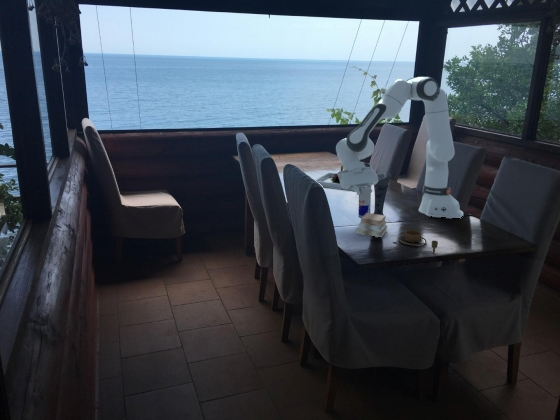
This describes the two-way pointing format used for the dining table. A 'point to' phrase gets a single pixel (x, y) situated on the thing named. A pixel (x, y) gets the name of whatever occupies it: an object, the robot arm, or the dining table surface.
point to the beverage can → (364, 201)
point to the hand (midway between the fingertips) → (365, 193)
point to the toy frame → (330, 185)
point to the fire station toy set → (336, 177)
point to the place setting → (416, 238)
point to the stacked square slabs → (372, 225)
